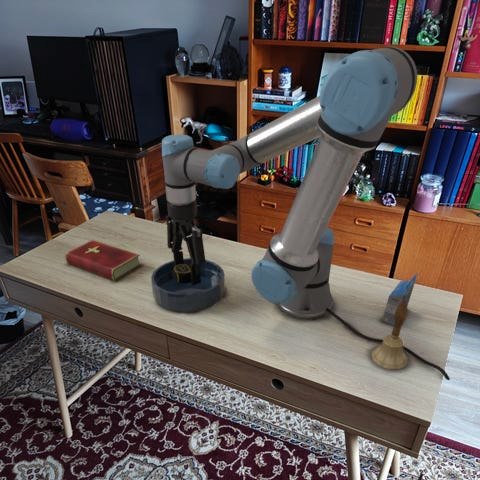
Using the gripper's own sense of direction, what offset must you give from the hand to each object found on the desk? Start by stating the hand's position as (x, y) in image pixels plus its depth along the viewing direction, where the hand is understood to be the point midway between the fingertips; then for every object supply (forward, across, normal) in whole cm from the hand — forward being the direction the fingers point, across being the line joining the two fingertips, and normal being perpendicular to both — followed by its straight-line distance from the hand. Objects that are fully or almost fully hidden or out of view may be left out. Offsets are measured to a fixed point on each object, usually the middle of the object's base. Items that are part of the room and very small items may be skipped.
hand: (187, 278), depth 126 cm
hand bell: (+5, -55, -19) cm, 58 cm away
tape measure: (+1, 0, 0) cm, 1 cm away
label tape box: (+5, -46, -35) cm, 58 cm away
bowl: (+5, 0, 0) cm, 5 cm away
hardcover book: (+5, +32, +11) cm, 34 cm away
